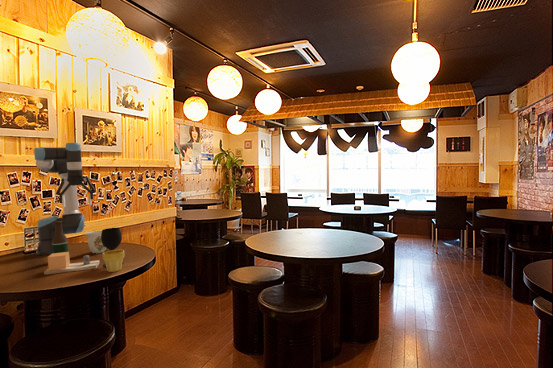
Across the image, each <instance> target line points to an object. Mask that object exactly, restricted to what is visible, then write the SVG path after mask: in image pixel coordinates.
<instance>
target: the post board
mask: <svg viewBox="0 0 555 368" xmlns="http://www.w3.org/2000/svg"><path fill="white" fill-rule="evenodd" d="M82 258H83V259H82V260H83V261H79V262H70V265H69V266H68V267H67V268H64V269H56V270H49V267H47V269H46V270H44V271H43V275H45V276H46V275H52V274H53V275H54V274H61V273H70V272H79V271H87V270H93V269H97V267H99V264H100V263H101V261H100V259H95V260H90V255H88V254H86V255H83V256H82Z"/></svg>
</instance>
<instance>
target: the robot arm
mask: <svg viewBox="0 0 555 368" xmlns="http://www.w3.org/2000/svg"><path fill="white" fill-rule="evenodd" d="M33 153H34V160H35V165H36V167H37V169H38V170H40V171H43V172H44V173H45V172H46V173H49V174H57V175H58V177H59V178H61V179H60V180H61V182H60V184H59V186H58V189H57V190H56V192H55V195H56V196H59V200H60V202H62V208H63V213H62V214H61V217H59V215H52V216H48V217H43V218H41V219H39V220H38V221H37V230H38V231H37V232H38V233H37V234H38V245H37V248H36V255H37V256H38V255H39V256H46V255H48V256H49V255H51V254H53V250H52V239H53V237H54V235H55V221H62V230H63V234H64V235H65V236H66V235H73V234H77V233H78V234H79V233H82V232H83V231H84V229H85V222H86V221H85V215H84V214H83V213H82V212H81V211H80V209H79V199H78V187H77V186H81V187H83V189H84V190H86V191H87V192H88V193H89V194H88V204H89V205H88V206H92V204H93V203H92V202H93V201H92V200H94V194H95V193H97V190H96V189H95V187H94V185H93V184H92V182H91V180H90V177H89V176H88V177H84V175H83V174H84V173H83V161H82V148H81V143H79V142H66V143H65V147H64V146H63V147H59V146H58V147H47V146H46V147H42V146H41V147H35V148H34V149H33ZM84 181H85V182H86V183H87V184H88V186H89V187H90V188H89V187H88V186H87V185H85V183H84Z"/></svg>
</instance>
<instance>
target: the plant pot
mask: <svg viewBox="0 0 555 368" xmlns="http://www.w3.org/2000/svg"><path fill="white" fill-rule="evenodd" d="M124 258H125V250H124V249H115V250H107V251H106V250H105V251H104V252H102V260H103V261H104V264H106V267H105V268H106V270H107V272H109V273H115V272H119V271H121V270H122V266H123V264H122V262H123V263H124V261H123V260H124Z"/></svg>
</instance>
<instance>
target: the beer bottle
mask: <svg viewBox="0 0 555 368" xmlns="http://www.w3.org/2000/svg"><path fill="white" fill-rule="evenodd" d="M68 242H69V241H68V238H67V236H66V234H65V235H64V234H63V230H62V221H55V235H54V237H53V239H52V250H53V253H63V252H69V245H68V244H69V243H68Z"/></svg>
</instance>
